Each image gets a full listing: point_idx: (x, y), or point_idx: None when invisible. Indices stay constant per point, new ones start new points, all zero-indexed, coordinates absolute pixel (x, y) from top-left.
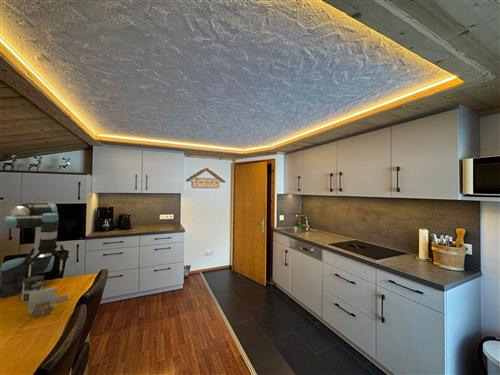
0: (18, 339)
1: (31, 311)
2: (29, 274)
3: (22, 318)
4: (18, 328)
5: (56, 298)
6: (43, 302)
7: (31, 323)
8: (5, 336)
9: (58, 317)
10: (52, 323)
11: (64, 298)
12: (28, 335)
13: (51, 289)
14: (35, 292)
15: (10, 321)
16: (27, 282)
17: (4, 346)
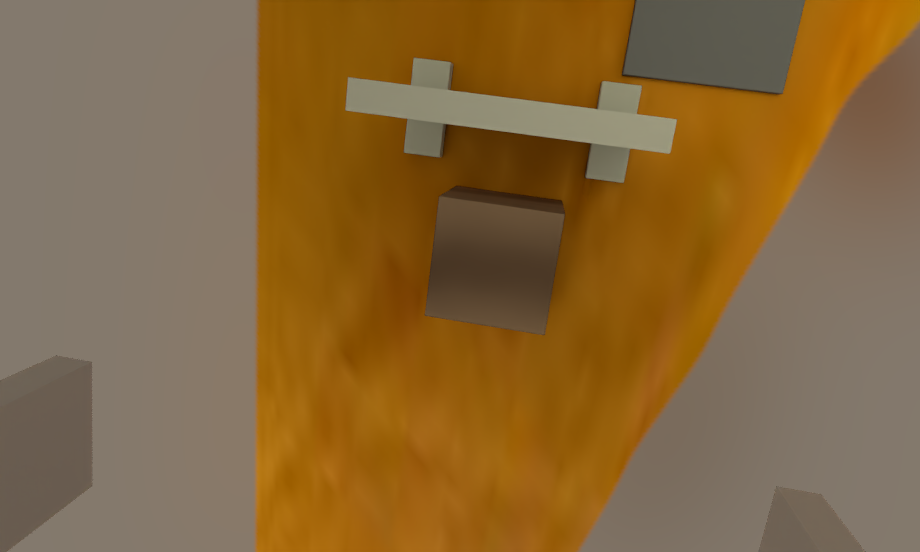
0: (320, 527)
1: (432, 136)
2: (29, 518)
3: (367, 194)
4: (330, 363)
5: None
6: (505, 214)
7: (409, 357)
8: (260, 414)
9: (582, 430)
10: (523, 493)
11: (758, 30)
12: (371, 528)
13: (604, 143)
14: (412, 117)
15: (292, 175)
16: None
17: (255, 542)
